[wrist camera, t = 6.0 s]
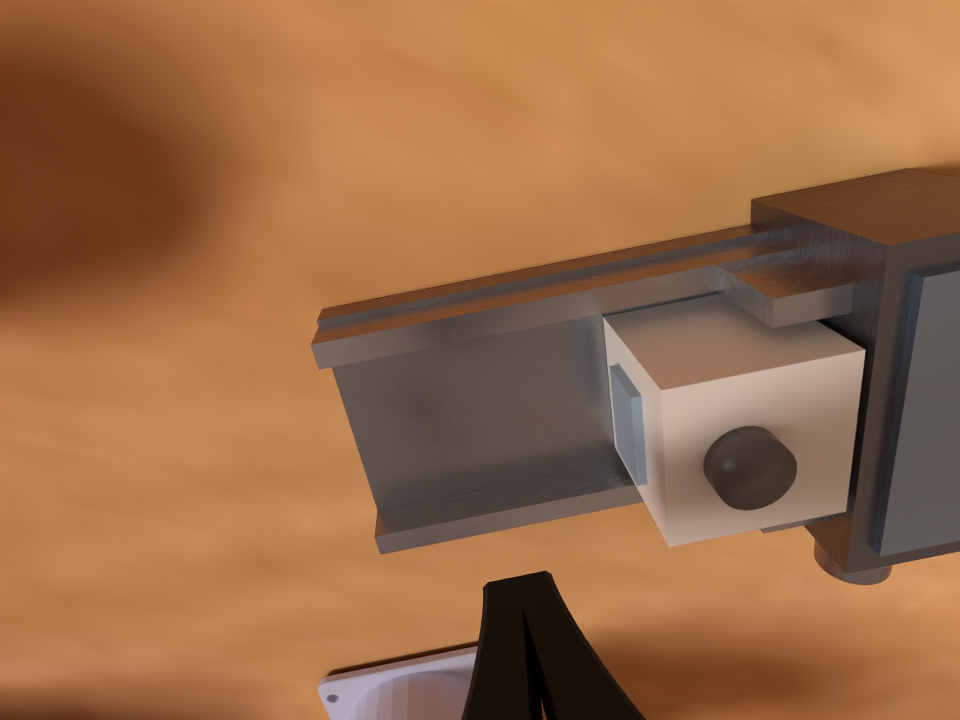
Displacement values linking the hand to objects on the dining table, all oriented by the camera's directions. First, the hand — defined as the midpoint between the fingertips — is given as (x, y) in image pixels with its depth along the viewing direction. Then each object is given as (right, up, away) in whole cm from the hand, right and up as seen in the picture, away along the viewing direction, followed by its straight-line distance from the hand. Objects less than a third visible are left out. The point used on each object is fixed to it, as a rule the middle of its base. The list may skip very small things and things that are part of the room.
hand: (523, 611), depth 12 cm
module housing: (+4, +4, +9) cm, 11 cm away
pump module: (+6, +5, +7) cm, 11 cm away
